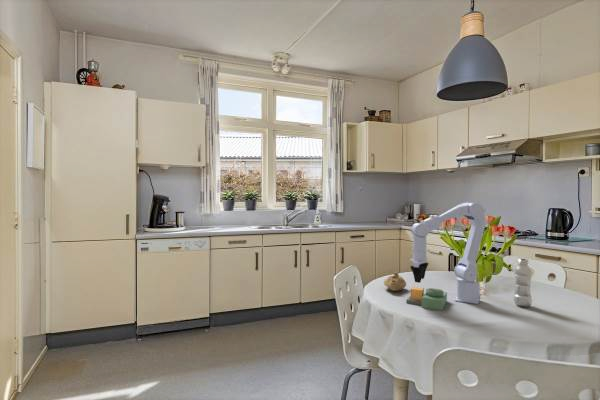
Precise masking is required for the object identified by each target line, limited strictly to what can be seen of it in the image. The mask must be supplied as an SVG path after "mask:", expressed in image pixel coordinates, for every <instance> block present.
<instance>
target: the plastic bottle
mask: <svg viewBox="0 0 600 400" xmlns="http://www.w3.org/2000/svg"><path fill="white" fill-rule="evenodd" d="M517 264H518V265H516V267H515V268H514V270H513V273H514V279H515V291H514V295H513V302H514V304H515V305H516V306H519V307H525V308H527V307H531V306H532V304H533V298H532V293H531V282H532V274H533V272H532V270H531V268H530V266H529V259H527V258H517Z"/></svg>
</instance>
